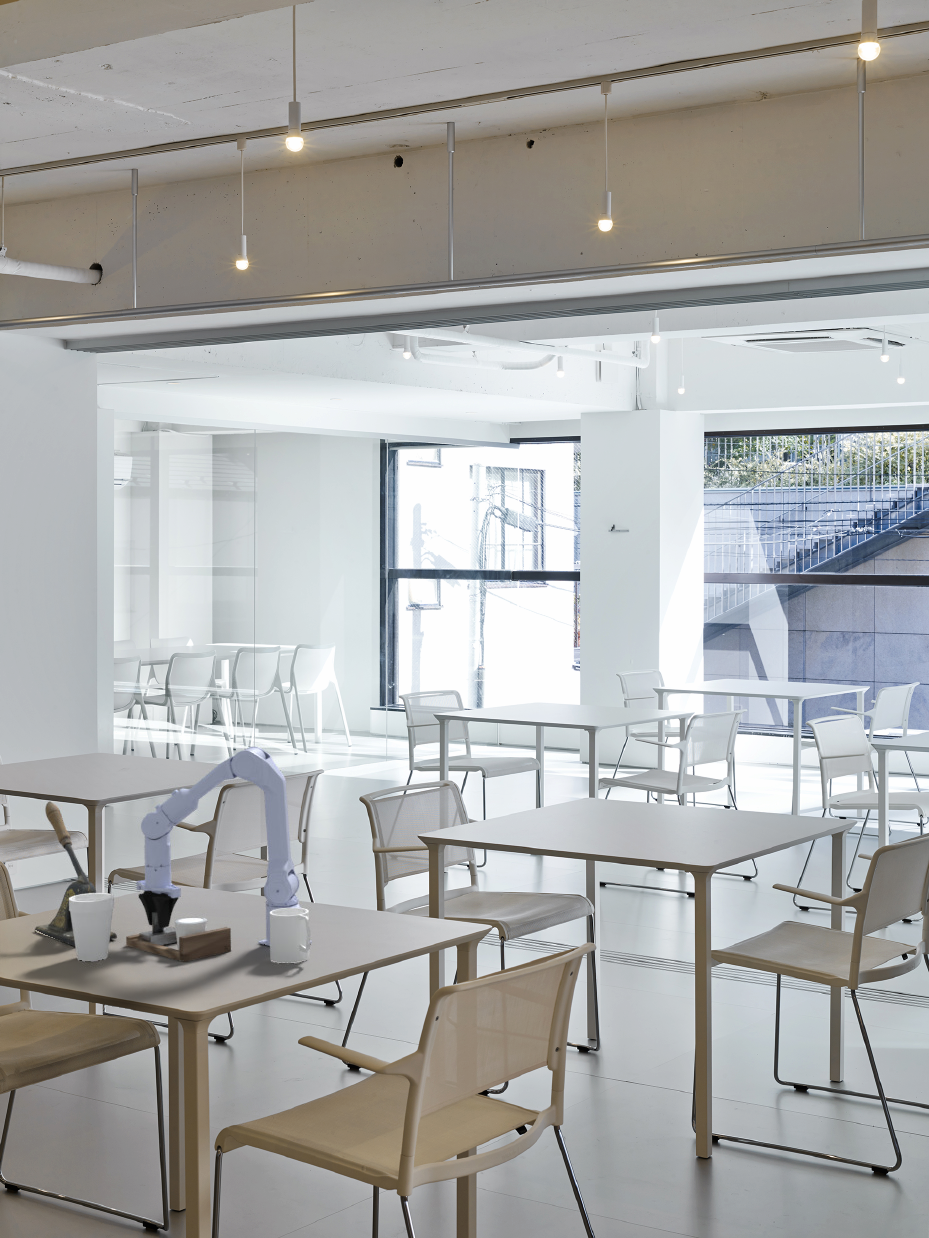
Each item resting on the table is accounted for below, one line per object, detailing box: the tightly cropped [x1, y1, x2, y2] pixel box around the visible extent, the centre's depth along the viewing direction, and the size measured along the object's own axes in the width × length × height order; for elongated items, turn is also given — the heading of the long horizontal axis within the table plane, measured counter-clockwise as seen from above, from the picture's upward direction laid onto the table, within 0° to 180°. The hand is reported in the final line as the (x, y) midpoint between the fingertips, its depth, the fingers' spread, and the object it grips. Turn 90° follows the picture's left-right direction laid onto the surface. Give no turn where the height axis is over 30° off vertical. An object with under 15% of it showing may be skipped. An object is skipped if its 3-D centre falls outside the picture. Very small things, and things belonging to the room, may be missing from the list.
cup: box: [269, 907, 311, 963], centre depth 296 cm, size 8×12×10 cm
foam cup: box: [69, 892, 115, 962], centre depth 301 cm, size 10×9×13 cm
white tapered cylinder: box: [174, 916, 208, 950], centre depth 305 cm, size 7×7×7 cm
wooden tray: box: [125, 926, 232, 963], centre depth 308 cm, size 22×12×5 cm, turn 46°
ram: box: [138, 910, 177, 946], centre depth 313 cm, size 4×8×7 cm, turn 136°
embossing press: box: [34, 801, 118, 947], centre depth 322 cm, size 11×24×30 cm, turn 38°
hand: (158, 925), depth 314 cm, fingers open, 3 cm apart
